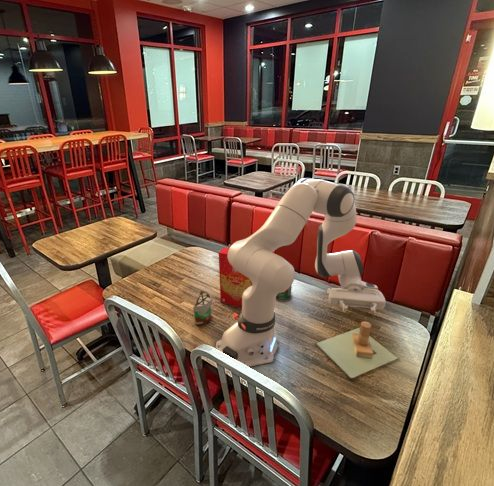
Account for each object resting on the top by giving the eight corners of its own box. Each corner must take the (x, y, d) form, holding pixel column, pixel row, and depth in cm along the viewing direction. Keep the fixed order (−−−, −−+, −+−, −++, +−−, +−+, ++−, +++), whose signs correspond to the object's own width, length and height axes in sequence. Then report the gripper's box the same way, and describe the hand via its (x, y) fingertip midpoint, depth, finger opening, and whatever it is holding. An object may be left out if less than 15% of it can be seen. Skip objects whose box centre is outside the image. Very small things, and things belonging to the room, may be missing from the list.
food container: (209, 329, 123) (208, 308, 118) (194, 327, 124) (193, 307, 120) (215, 310, 134) (214, 290, 129) (202, 308, 135) (200, 289, 130)
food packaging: (220, 302, 138) (218, 252, 128) (225, 296, 142) (223, 247, 132) (252, 309, 133) (253, 258, 122) (256, 302, 137) (256, 252, 126)
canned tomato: (289, 291, 144) (291, 270, 139) (292, 301, 137) (293, 280, 132) (272, 291, 144) (273, 270, 140) (273, 301, 137) (274, 279, 133)
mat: (351, 380, 98) (351, 378, 98) (315, 344, 112) (316, 343, 112) (397, 360, 104) (398, 358, 104) (358, 329, 119) (358, 327, 118)
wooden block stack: (351, 338, 113) (355, 315, 109) (366, 340, 112) (371, 316, 108) (356, 356, 105) (360, 332, 101) (372, 358, 104) (377, 334, 100)
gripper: (327, 281, 128) (330, 301, 116) (381, 285, 123) (391, 306, 111) (325, 294, 130) (328, 314, 118) (378, 298, 126) (387, 320, 114)
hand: (359, 311), depth 115 cm, fingers open, 8 cm apart
